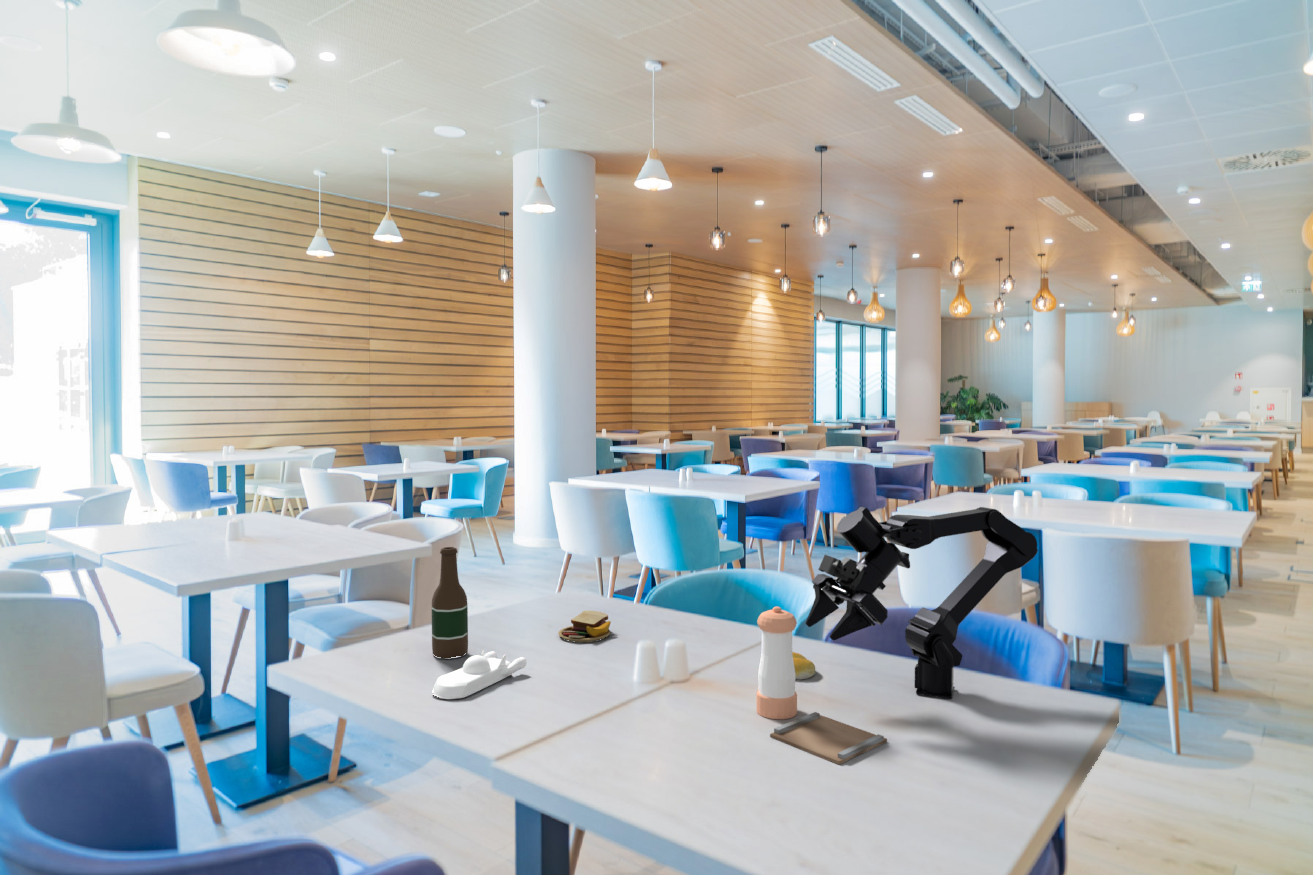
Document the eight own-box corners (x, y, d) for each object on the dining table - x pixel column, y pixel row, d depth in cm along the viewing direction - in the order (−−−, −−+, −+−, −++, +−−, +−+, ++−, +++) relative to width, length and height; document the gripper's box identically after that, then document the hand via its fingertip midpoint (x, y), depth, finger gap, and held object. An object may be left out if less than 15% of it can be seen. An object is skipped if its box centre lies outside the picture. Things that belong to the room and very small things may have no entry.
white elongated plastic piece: (418, 695, 157) (418, 666, 157) (488, 666, 175) (488, 639, 174) (458, 705, 152) (458, 674, 152) (527, 674, 169) (526, 647, 169)
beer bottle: (475, 652, 183) (474, 546, 182) (449, 662, 177) (448, 552, 176) (451, 647, 188) (449, 543, 187) (424, 656, 181) (423, 548, 180)
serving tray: (818, 717, 145) (818, 710, 145) (887, 741, 134) (887, 734, 134) (770, 736, 137) (770, 729, 137) (838, 764, 126) (838, 756, 126)
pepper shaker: (804, 711, 148) (805, 606, 147) (782, 722, 143) (782, 614, 142) (771, 701, 153) (771, 600, 152) (748, 712, 148) (748, 607, 147)
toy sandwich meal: (547, 638, 196) (547, 618, 195) (585, 626, 206) (585, 607, 206) (586, 647, 188) (586, 627, 188) (623, 634, 199) (623, 615, 199)
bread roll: (785, 682, 164) (785, 663, 164) (768, 668, 172) (768, 650, 172) (823, 678, 166) (823, 659, 166) (804, 665, 175) (804, 646, 174)
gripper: (821, 532, 159) (769, 591, 157) (873, 548, 142) (815, 615, 139) (856, 570, 162) (805, 629, 159) (912, 590, 144) (855, 657, 141)
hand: (818, 631), depth 150 cm, fingers open, 9 cm apart
